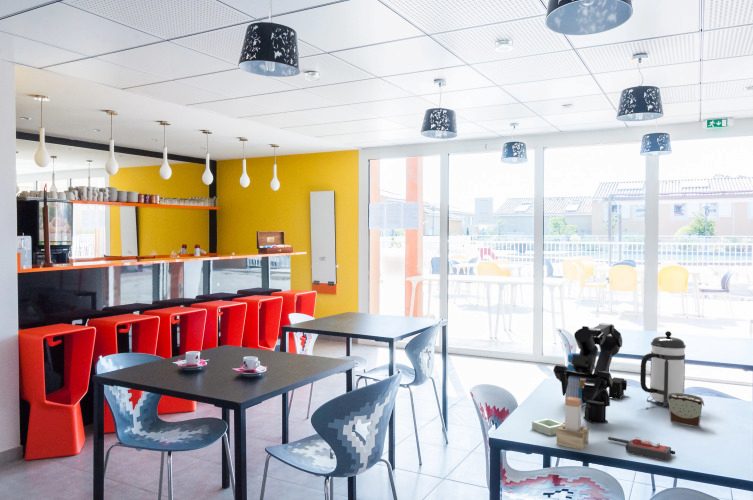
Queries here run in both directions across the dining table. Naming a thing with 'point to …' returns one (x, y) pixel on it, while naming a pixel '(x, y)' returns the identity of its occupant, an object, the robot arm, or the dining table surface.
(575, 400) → the plug
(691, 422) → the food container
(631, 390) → the dining table surface
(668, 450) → the walkie-talkie
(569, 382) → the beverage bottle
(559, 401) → the dining table surface
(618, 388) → the digital camera
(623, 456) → the dining table surface
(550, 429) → the tray
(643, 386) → the coffee press
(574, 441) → the box
